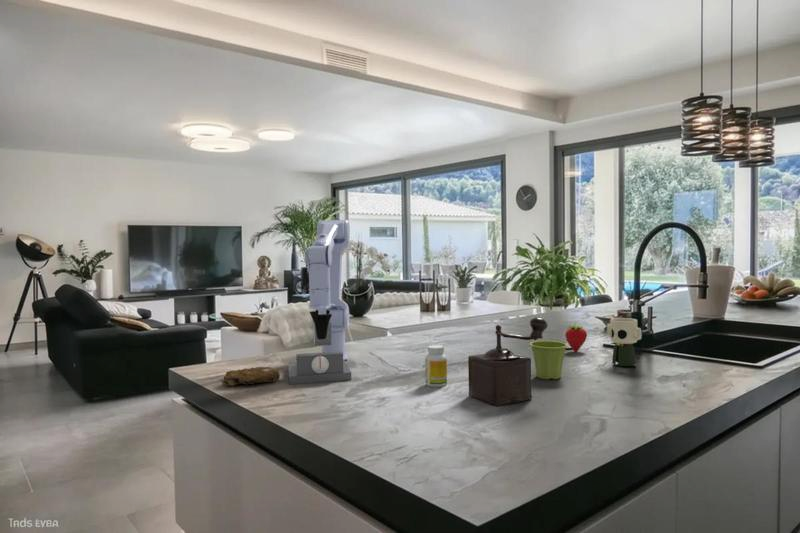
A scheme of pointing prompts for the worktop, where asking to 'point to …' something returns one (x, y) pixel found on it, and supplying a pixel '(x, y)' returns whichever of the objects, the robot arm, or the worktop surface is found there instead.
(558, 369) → the plant pot
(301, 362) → the scale
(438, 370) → the supplement bottle
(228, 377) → the decorative rock
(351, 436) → the worktop surface
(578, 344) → the strawberry
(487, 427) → the worktop surface
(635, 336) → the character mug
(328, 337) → the block
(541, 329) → the manual coffee grinder
